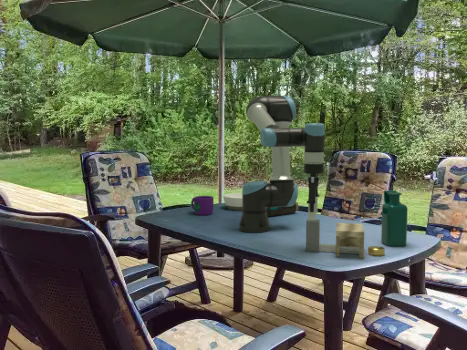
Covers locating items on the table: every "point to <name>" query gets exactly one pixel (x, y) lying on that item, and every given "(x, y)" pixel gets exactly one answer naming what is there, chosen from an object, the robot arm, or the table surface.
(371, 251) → the yellow lumpy disc
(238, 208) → the bowl
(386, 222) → the green bottle
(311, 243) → the bracket
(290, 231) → the table surface
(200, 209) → the mug
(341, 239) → the shelf
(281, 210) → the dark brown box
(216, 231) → the table surface
